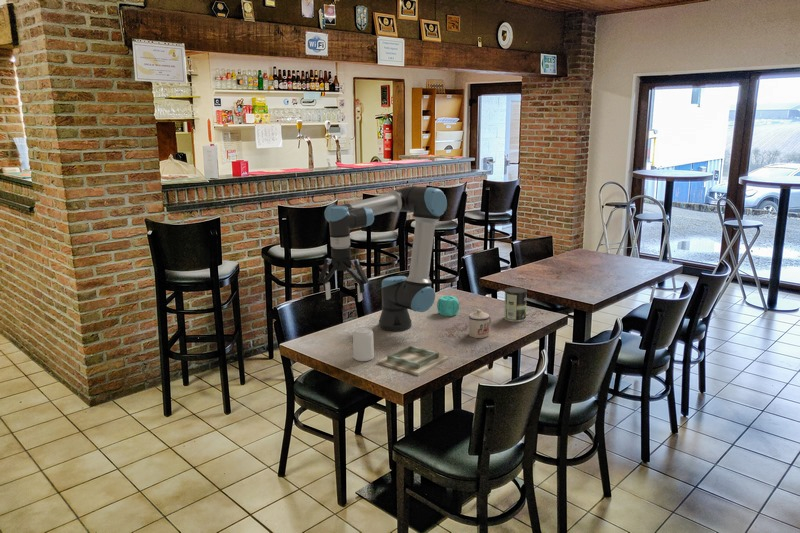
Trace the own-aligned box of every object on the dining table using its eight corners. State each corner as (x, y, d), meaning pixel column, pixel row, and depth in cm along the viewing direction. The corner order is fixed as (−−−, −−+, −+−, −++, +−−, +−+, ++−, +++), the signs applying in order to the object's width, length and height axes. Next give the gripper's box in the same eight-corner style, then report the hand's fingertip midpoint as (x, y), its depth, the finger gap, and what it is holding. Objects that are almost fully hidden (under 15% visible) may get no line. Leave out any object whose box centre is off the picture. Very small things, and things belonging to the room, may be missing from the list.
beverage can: (376, 360, 242) (375, 331, 239) (357, 363, 239) (356, 334, 236) (370, 353, 250) (369, 325, 247) (351, 356, 247) (350, 328, 244)
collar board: (377, 363, 239) (377, 356, 238) (408, 348, 254) (408, 341, 253) (418, 375, 227) (418, 368, 226) (448, 358, 242) (448, 351, 241)
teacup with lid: (479, 340, 262) (479, 314, 259) (464, 334, 269) (464, 309, 266) (498, 333, 269) (498, 308, 267) (482, 328, 276) (483, 304, 273)
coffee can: (525, 315, 293) (526, 287, 290) (526, 322, 283) (527, 293, 280) (503, 314, 295) (504, 286, 292) (504, 321, 285) (504, 292, 282)
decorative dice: (445, 317, 293) (445, 301, 291) (436, 312, 300) (436, 297, 298) (459, 314, 296) (459, 298, 295) (450, 310, 303) (450, 294, 301)
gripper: (307, 248, 235) (311, 300, 240) (367, 250, 227) (370, 304, 232) (315, 243, 242) (319, 295, 247) (374, 245, 234) (377, 298, 239)
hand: (344, 299), depth 239 cm, fingers open, 13 cm apart
